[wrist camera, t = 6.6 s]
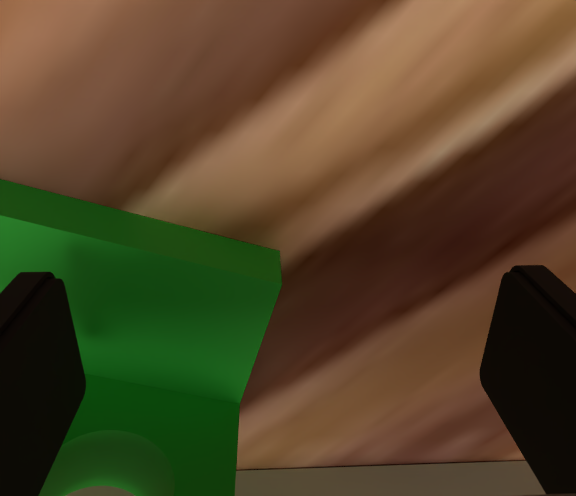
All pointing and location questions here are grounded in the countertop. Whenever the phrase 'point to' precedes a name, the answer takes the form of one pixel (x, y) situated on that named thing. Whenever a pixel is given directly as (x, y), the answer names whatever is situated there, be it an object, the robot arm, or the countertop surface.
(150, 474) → the mechanical part
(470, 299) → the countertop surface
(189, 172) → the countertop surface
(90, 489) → the deck plate
